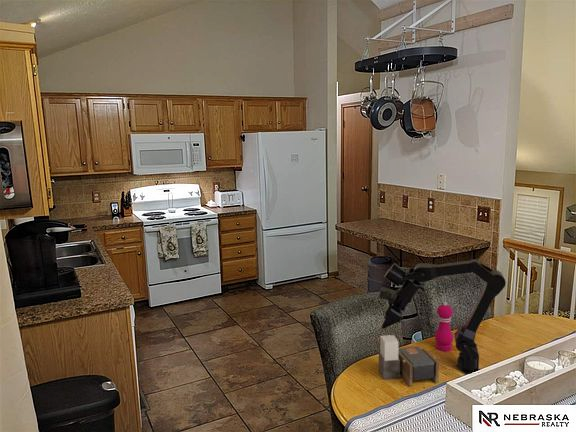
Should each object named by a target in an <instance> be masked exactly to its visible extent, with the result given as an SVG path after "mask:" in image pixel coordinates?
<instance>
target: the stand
mask: <svg viewBox="0 0 576 432" xmlns="http://www.w3.org/2000/svg"><path fill="white" fill-rule="evenodd" d="M378 372H379V374H380V376H381V378H382V380H399V379H401V376H400V360H399V358H398V360H388V361H384V359H383V357H382V355H381V354H380V352H379V353H378Z"/></svg>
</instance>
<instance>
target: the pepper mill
mask: <svg viewBox="0 0 576 432" xmlns="http://www.w3.org/2000/svg"><path fill="white" fill-rule="evenodd" d="M436 313H437V315H438V316H437V317H438V318H437V321H438V327H437V329H436V331H435V333H434V340H435V341H436V342H435V348H436V350H437V351H440V352H450V351H452V350H453V345H452V343H453V342H454V334H453V332H452V330H451V321H452V316H453V313H454V312H453V309H452V307H451V306H450V305H448V302H447V301H443V302H442V304H441V305H439V306H437V310H436Z"/></svg>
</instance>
